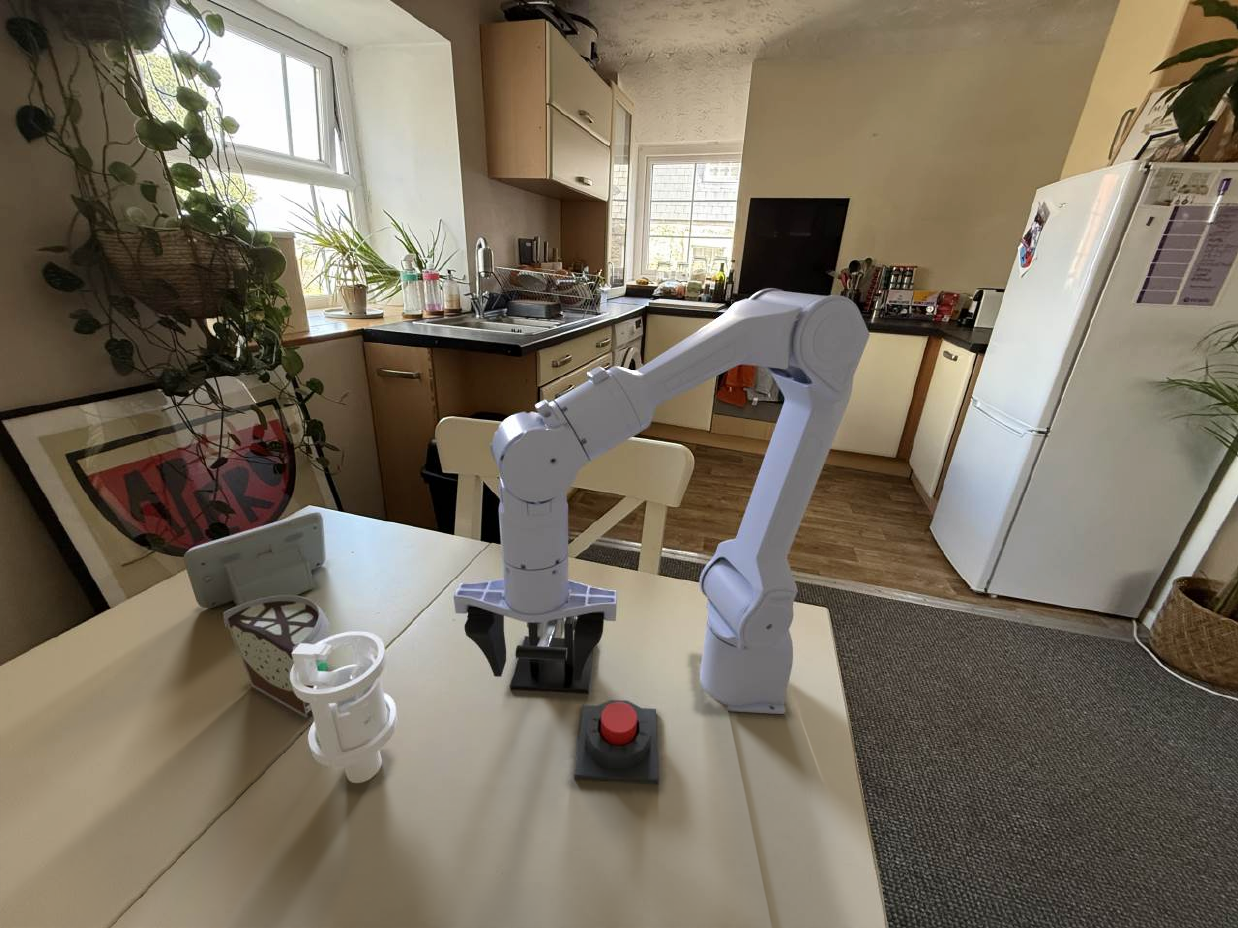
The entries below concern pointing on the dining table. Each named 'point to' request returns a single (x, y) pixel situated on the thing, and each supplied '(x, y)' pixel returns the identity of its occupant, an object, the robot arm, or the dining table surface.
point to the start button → (618, 723)
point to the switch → (545, 643)
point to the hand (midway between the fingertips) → (539, 670)
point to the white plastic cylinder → (346, 704)
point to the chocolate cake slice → (276, 642)
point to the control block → (617, 749)
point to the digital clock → (258, 562)
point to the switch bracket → (551, 664)
